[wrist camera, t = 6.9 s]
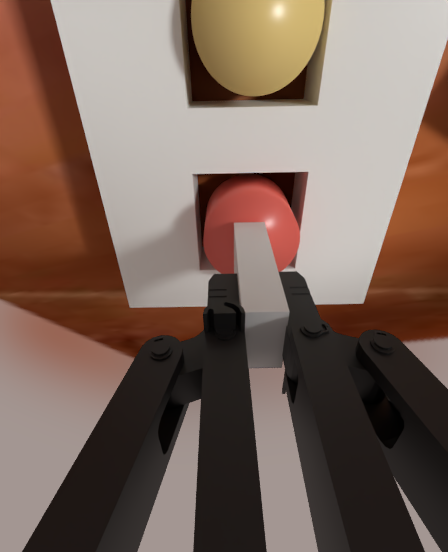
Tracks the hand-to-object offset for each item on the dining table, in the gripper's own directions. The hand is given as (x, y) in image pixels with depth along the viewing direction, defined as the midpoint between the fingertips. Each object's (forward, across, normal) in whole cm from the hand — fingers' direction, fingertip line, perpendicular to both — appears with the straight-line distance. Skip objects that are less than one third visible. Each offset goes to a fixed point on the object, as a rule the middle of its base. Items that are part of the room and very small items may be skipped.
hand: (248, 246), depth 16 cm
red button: (+4, 0, 0) cm, 4 cm away
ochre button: (+5, 0, -9) cm, 10 cm away
